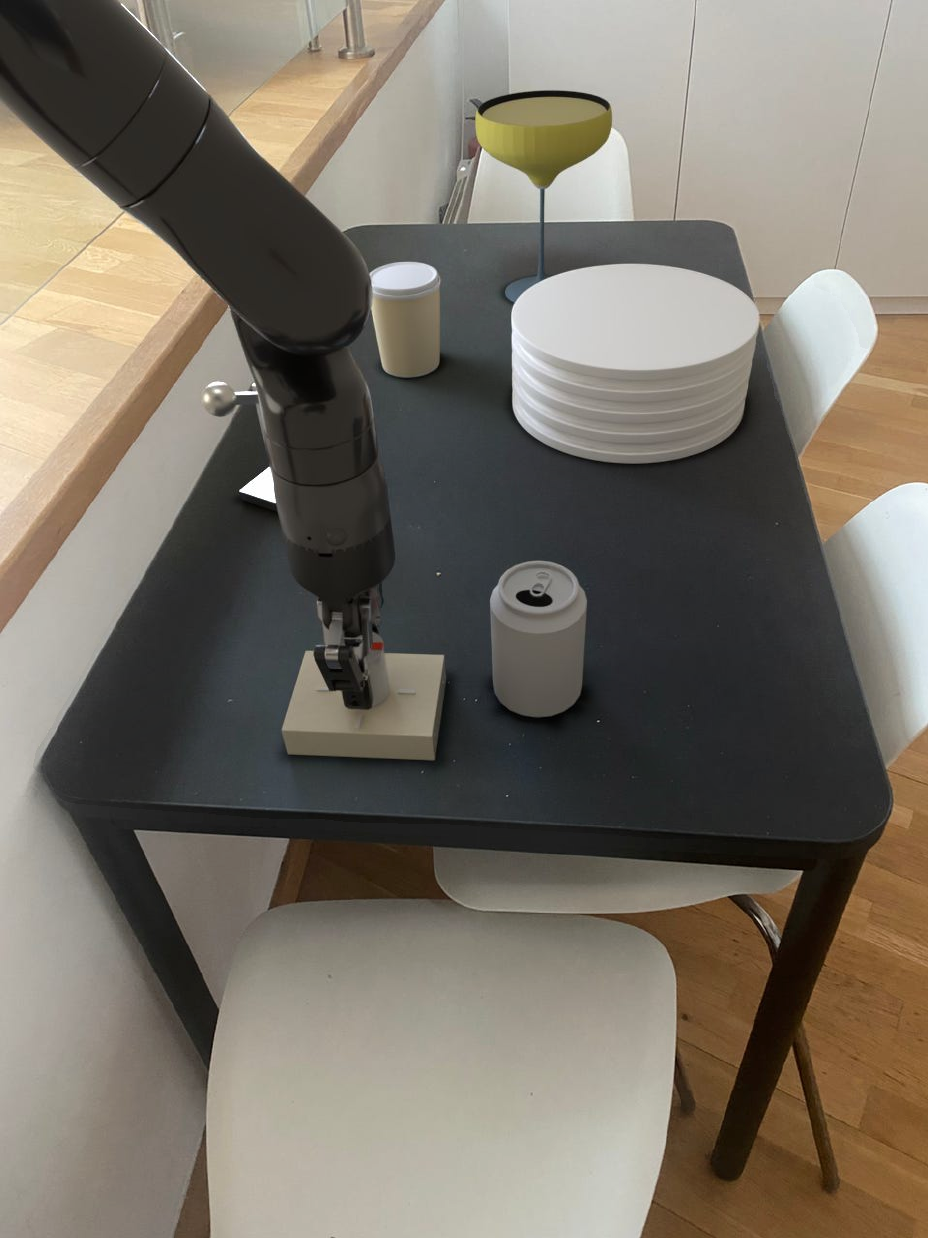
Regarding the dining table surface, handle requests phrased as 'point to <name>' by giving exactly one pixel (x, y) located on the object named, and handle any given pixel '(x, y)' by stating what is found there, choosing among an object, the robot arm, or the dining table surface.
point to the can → (538, 638)
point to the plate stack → (632, 361)
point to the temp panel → (369, 713)
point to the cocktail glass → (542, 142)
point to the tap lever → (225, 399)
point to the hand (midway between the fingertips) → (364, 684)
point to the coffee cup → (407, 317)
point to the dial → (377, 670)
